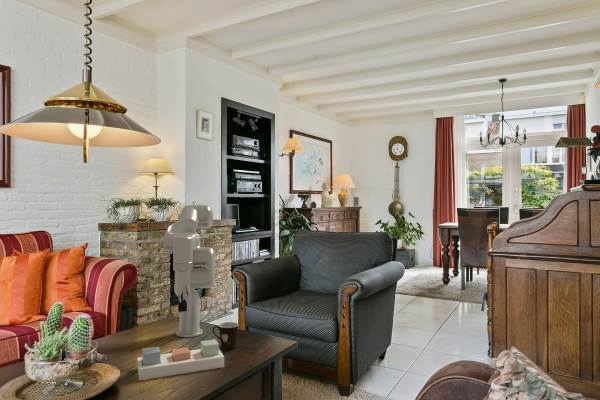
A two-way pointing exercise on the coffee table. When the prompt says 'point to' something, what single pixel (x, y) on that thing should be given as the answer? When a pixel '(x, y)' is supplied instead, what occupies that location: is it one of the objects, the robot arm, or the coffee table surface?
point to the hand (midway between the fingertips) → (182, 311)
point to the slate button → (150, 356)
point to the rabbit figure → (100, 357)
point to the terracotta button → (180, 354)
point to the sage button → (209, 348)
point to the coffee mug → (227, 335)
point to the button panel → (179, 365)
